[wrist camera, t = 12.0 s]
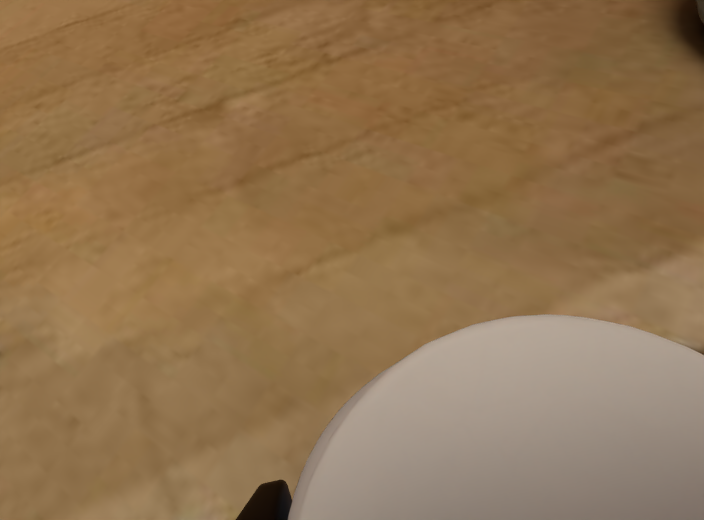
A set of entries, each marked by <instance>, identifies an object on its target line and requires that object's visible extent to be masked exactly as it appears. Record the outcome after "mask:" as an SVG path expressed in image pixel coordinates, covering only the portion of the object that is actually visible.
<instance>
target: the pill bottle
mask: <svg viewBox="0 0 704 520" xmlns="http://www.w3.org/2000/svg"><path fill="white" fill-rule="evenodd" d="M288 520H704V355H702V354H700V353H698V352H696V351H694V350H692V349H690V348H688V347H686V346H683V345H680V344H678V343H675V342H673V341H670V340H668V339H665V338H662V337H660V336H657V335H655V334H652V333H649V332H646V331H643V330H640V329H637V328H634V327H631V326H626V325H622V324H617V323H613V322H607V321H602V320H597V319H591V318H585V317H576V316H568V315H530V316H515V317H508V318H502V319H497V320H492V321H487V322H483V323H478V324H474V325H471V326H468V327H466V328H463V329H461V330H458V331H455V332H453V333H450V334H448V335H446V336H443V337H441V338H439V339H436V340H434V341H431V342H429V343H427V344H425V345H423V346H422V347H420V348H419V349H417V350H415V351H414V352H412V353H411V354H409V355H408V356H406V357H405V358H403V359H402V360H400V361H399V362H397V363H396V364H394V365H393V366H391V367H389V368H388V369H386V370H385V371H383V372H381V373H380V374H378V375H377V376H376V377H375V378H373V379H372V380H371V381H370V382H368V383H367V384H366V385H365V386H363V387H362V388H361V389H360V390H359V391H358V392H357V393H356V394H355V395H354V396H352V397H351V398H350V399H349V400H348V401H347V402H346V403H345V405H344V406H343V407H342V408H341V409H340V410H339V411H338V412H337V414H336V415H335V416H334V418H333V419H332V420H331V421H330V423H329V424H328V425H327V427H326V428H325V430H324V431H323V433H322V434H321V436H320V438H319V439H318V441H317V443H316V445H315V446H314V448H313V450H312V452H311V454H310V456H309V458H308V460H307V462H306V464H305V466H304V469H303V471H302V473H301V476H300V479H299V482H298V484H297V487H296V490H295V493H294V496H293V500H292V504H291V508H290V512H289V516H288Z"/></svg>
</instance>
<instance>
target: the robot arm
mask: <svg viewBox="0 0 704 520" xmlns="http://www.w3.org/2000/svg"><path fill="white" fill-rule="evenodd" d="M291 504H292V499H291V495H290V492H289V489H288V486H287V484H286V482H285V481H283V480H277V481H273V482H268V483H264V484H261V485H260V486H259V487H258V489H257V490H256V491H255V493H254V494H253V496H252V497H251V499H250V500H249V501H248V503H247V504H246V506H245V507H244V509H243V510H242V511H241V513H240V514H239V516H238V517H237V519H236V520H288V516H289V512H290V508H291Z"/></svg>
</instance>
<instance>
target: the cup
mask: <svg viewBox="0 0 704 520" xmlns="http://www.w3.org/2000/svg"><path fill="white" fill-rule="evenodd" d="M696 8H697V11H698V14H699V16H700V19H701V21H702V24H703V25H704V0H696Z"/></svg>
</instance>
